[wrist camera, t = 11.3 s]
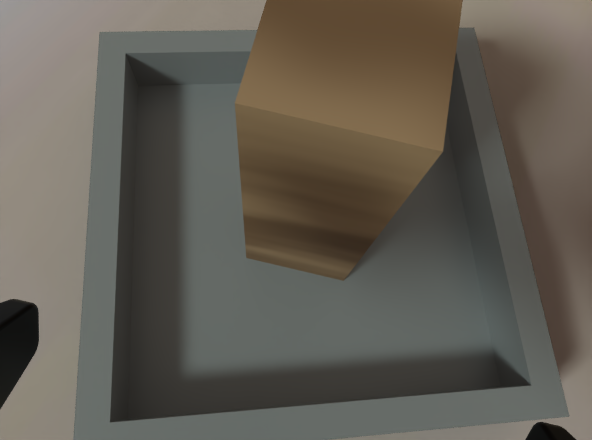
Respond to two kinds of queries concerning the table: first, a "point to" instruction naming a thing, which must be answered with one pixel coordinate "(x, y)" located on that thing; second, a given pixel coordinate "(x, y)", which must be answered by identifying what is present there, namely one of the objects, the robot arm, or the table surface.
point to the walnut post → (339, 123)
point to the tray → (292, 275)
